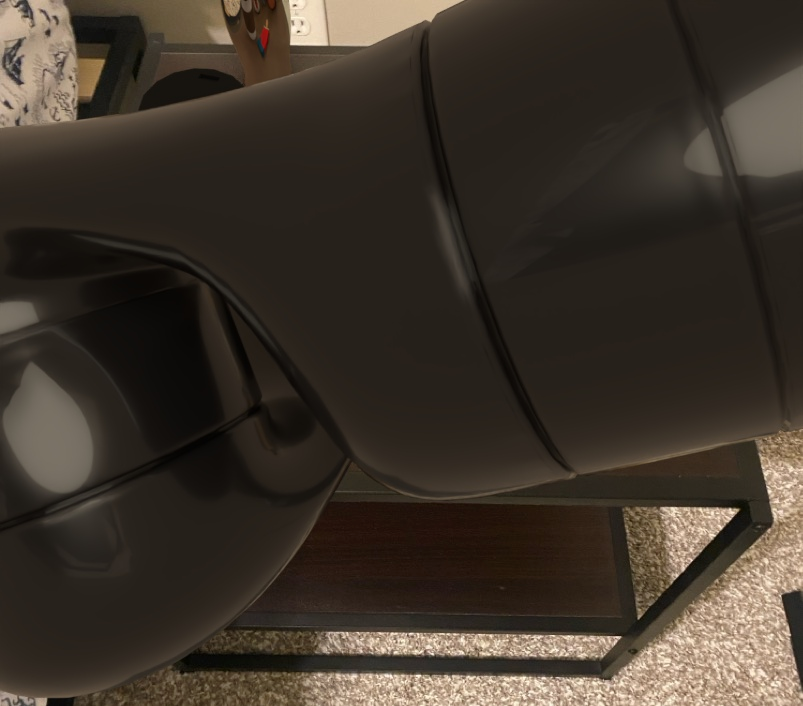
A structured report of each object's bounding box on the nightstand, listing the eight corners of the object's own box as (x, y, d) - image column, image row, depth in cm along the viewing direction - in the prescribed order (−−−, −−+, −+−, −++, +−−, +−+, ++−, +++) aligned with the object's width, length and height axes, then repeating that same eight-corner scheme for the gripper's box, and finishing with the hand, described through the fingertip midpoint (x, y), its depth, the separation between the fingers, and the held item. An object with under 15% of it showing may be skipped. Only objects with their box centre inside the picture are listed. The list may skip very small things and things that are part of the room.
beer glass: (310, 79, 84) (295, -45, 71) (287, 119, 81) (267, -4, 68) (255, 67, 85) (231, -58, 72) (231, 105, 82) (201, -18, 69)
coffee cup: (193, 147, 79) (162, 54, 68) (287, 167, 77) (270, 75, 67) (152, 222, 73) (111, 133, 63) (251, 244, 72) (227, 157, 62)
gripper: (634, 190, 24) (693, 163, 37) (285, 142, 29) (447, 134, 43) (594, 395, 26) (662, 300, 40) (281, 314, 32) (434, 255, 46)
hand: (550, 214), depth 41 cm, fingers open, 8 cm apart
